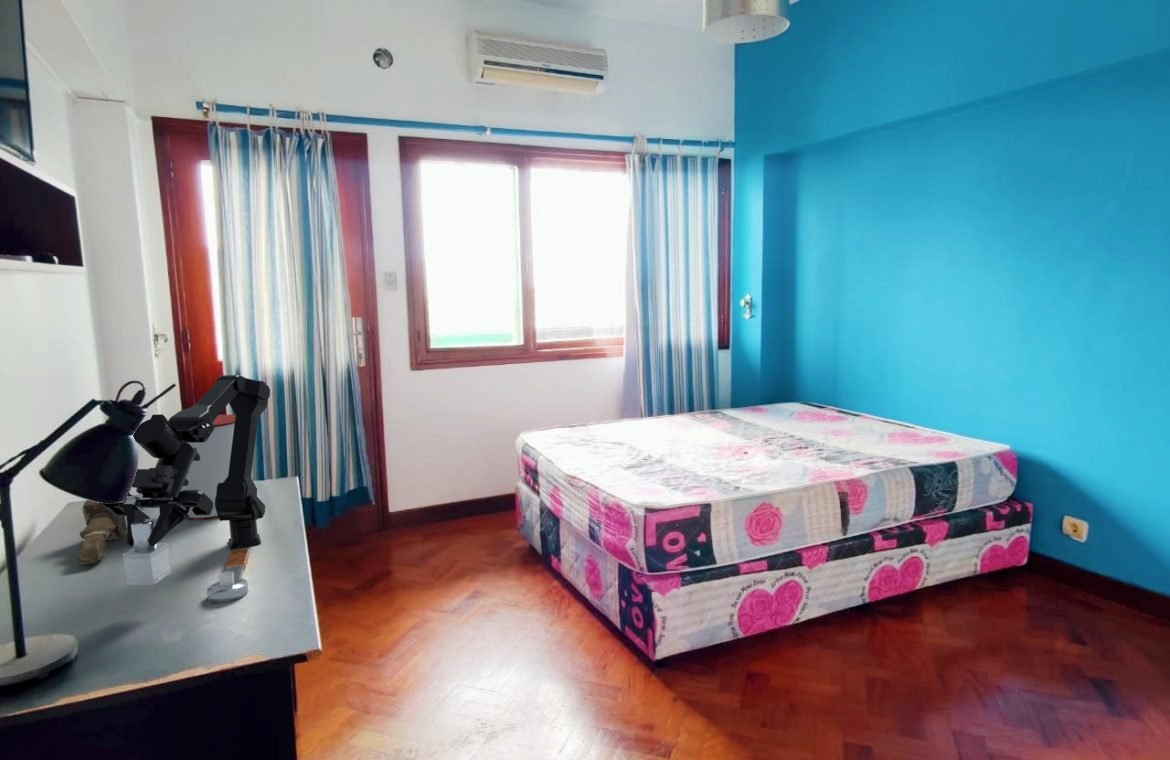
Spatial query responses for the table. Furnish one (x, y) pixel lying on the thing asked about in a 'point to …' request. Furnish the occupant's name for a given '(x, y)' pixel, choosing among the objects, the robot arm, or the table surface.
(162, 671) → the table surface
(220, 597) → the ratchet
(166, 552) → the clear square perfume bottle
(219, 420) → the container
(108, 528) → the brown boot
